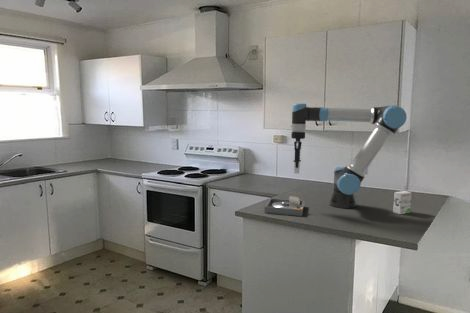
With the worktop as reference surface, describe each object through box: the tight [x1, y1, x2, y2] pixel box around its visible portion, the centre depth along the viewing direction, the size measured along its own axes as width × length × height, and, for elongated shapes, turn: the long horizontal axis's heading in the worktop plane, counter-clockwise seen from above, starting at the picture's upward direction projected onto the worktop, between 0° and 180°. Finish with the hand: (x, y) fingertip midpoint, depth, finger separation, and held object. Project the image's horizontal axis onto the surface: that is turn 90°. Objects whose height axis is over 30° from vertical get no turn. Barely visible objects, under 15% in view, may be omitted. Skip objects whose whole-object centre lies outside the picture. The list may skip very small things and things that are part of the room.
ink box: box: [392, 190, 413, 215], centre depth 208 cm, size 9×5×12 cm, turn 116°
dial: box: [272, 195, 301, 209], centre depth 208 cm, size 16×15×7 cm
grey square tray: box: [264, 197, 305, 217], centre depth 209 cm, size 20×20×4 cm
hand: (296, 173), depth 210 cm, fingers closed
